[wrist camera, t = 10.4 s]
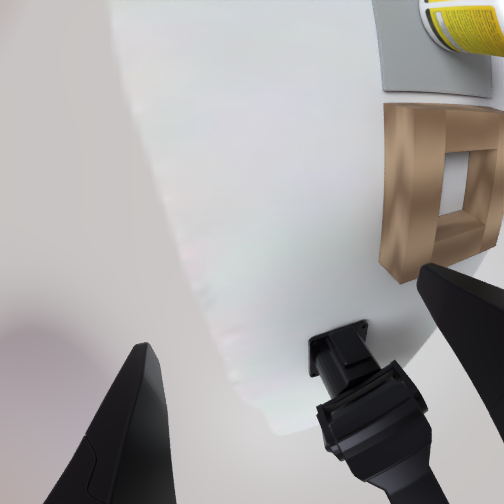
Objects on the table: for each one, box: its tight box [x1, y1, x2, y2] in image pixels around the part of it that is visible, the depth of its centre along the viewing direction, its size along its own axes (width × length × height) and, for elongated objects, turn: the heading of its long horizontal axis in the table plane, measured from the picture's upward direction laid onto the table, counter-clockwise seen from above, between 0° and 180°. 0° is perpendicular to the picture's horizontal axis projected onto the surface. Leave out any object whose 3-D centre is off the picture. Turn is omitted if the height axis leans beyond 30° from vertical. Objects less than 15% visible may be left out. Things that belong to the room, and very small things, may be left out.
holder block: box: [379, 103, 504, 284], centre depth 22 cm, size 14×14×4 cm
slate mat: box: [372, 0, 492, 98], centre depth 16 cm, size 14×14×1 cm
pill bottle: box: [419, 0, 504, 57], centre depth 11 cm, size 6×6×11 cm
